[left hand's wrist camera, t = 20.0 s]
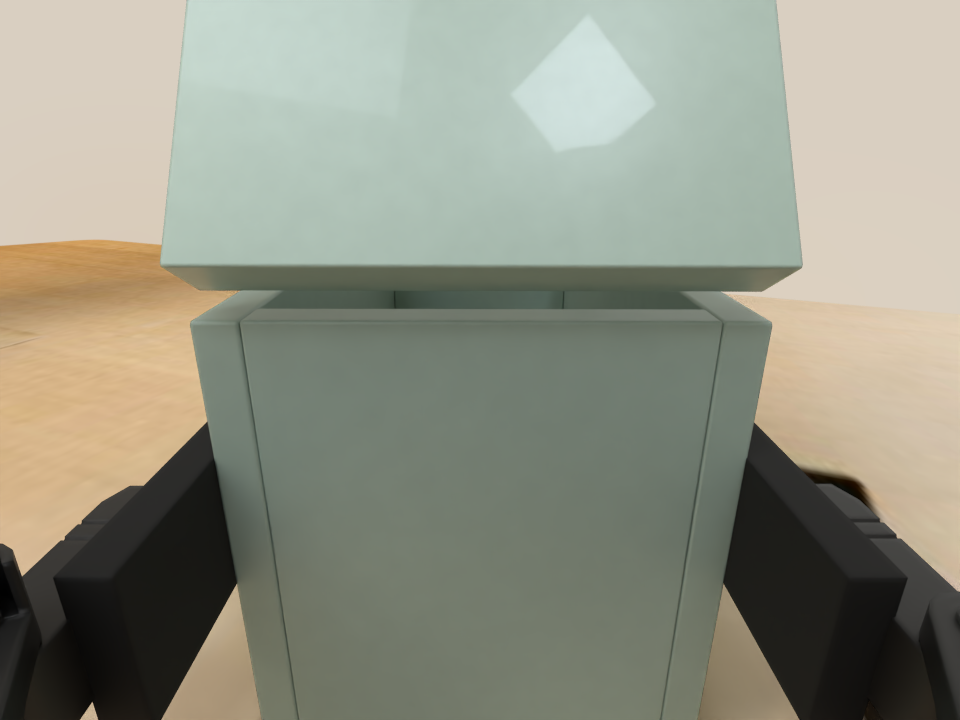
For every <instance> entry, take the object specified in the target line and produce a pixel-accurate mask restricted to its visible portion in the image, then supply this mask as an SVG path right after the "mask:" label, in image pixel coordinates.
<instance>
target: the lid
mask: <svg viewBox="0 0 960 720" xmlns="http://www.w3.org/2000/svg"><path fill="white" fill-rule="evenodd" d="M160 265H161V267H162V268H164V269H166V270H167V271H169V272H170V273H172V274H174V275H175V276H177V277H179V278H180V279H182V280H183V281H185V282H187V283H188V284H190V285H192V286H193V287H195V288H197V289H198V290H258V291H746V292H747V291H748V292H751V291H752V292H762V291H764V290H766V289H767V288H769V287H771V286H772V285H774V284H776V283H778V282H779V281H781V280H783V279H784V278H786V277H788V276H789V275H791V274H793V273H794V272H796V271H798V270H799V269H801V268H802V265H803V263H802V253H801V243H800V233H799V223H798V213H797V203H796V193H795V183H794V174H793V164H792V153H791V144H790V134H789V124H788V114H787V104H786V94H785V84H784V74H783V64H782V54H781V45H780V34H779V24H778V14H777V4H776V0H187V3H186V12H185V23H184V32H183V42H182V52H181V62H180V72H179V81H178V91H177V101H176V111H175V121H174V131H173V140H172V150H171V160H170V170H169V180H168V190H167V199H166V209H165V220H164V229H163V239H162V249H161V258H160Z"/></svg>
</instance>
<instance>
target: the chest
mask: <svg viewBox="0 0 960 720" xmlns="http://www.w3.org/2000/svg"><path fill="white" fill-rule="evenodd" d="M190 327H191V333H192V338H193V344H194V349H195V355H196V360H197V366H198V371H199V377H200V382H201V388H202V393H203V399H204V404H205V410H206V415H207V421H208V426H209V432H210V438H211V443H212V449H213V454H214V460H215V465H216V471H217V476H218V482H219V487H220V493H221V498H222V504H223V509H224V515H225V520H226V526H227V531H228V537H229V542H230V548H231V553H232V559H233V564H234V570H235V575H236V581H237V586H238V592H239V597H240V603H241V608H242V614H243V619H244V625H245V630H246V636H247V641H248V647H249V652H250V658H251V663H252V669H253V674H254V680H255V685H256V691H257V696H258V702H259V707H260V713H261V718H262V720H698V715H699V710H700V705H701V699H702V694H703V689H704V683H705V678H706V673H707V668H708V662H709V657H710V652H711V646H712V641H713V636H714V631H715V625H716V620H717V615H718V609H719V604H720V599H721V594H722V588H723V581H724V576H725V570H726V565H727V560H728V554H729V549H730V543H731V538H732V533H733V527H734V522H735V517H736V511H737V506H738V500H739V495H740V490H741V484H742V479H743V474H744V468H745V463H746V458H747V456H748V451H749V446H750V440H751V435H752V430H753V425H754V419H755V414H756V409H757V404H758V398H759V393H760V388H761V382H762V377H763V372H764V367H765V361H766V356H767V351H768V345H769V340H770V335H771V330H772V323H771V322H770V321H769V320H767V319H765V318H764V317H762V316H760V315H759V314H757V313H755V312H754V311H752V310H750V309H749V308H747V307H745V306H744V305H742V304H740V303H739V302H737V301H735V300H734V299H732V298H730V297H729V296H727V295H725V294H724V293H722V292H720V291H258V290H241V291H239V292H238V293H236V294H235V295H233V296H231V297H230V298H228V299H226V300H225V301H223V302H221V303H220V304H218V305H217V306H215V307H213V308H212V309H210V310H208V311H207V312H205V313H204V314H202V315H200V316H199V317H197V318H195V319H194V320H192V321H191V323H190Z"/></svg>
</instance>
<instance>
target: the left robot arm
mask: <svg viewBox="0 0 960 720" xmlns="http://www.w3.org/2000/svg"><path fill="white" fill-rule="evenodd" d="M723 583H724V585H725V587H726V588H727V590H728V592H729V594H730V596H731V597H732V599H733V601H734V603H735V605H736V606H737V608H738V610H739V612H740V613H741V615H742V617H743V619H744V621H745V622H746V624H747V626H748V628H749V630H750V631H751V633H752V635H753V637H754V639H755V640H756V642H757V644H758V646H759V648H760V649H761V651H762V653H763V655H764V657H765V658H766V660H767V662H768V664H769V666H770V667H771V669H772V671H773V673H774V675H775V676H776V678H777V680H778V682H779V684H780V685H781V687H782V689H783V691H784V693H785V694H786V696H787V698H788V700H789V702H790V703H791V705H792V707H793V709H794V710H795V712H796V714H797V716H798V718H799V719H800V720H862V719H863V716H864V713H865V710H866V707H867V704H868V701H869V700H870V702H871V703H872V704H873V706H874V707H875V709H876V710H877V712H878V713H879V714H880V716H881V717H882V719H883V720H960V592H958V591H956V590H955V589H954V588H953V587H952V586H951V585H950V584H949V583H948V582H947V581H946V580H945V579H944V578H943V577H941V576H940V575H939V574H938V573H937V572H936V571H935V570H934V569H933V568H932V567H931V566H930V565H929V564H928V563H926V562H925V561H924V560H923V559H922V558H921V557H920V556H919V555H918V554H917V553H916V552H915V551H914V550H913V549H911V548H910V547H909V546H908V545H907V544H906V543H905V542H904V541H903V540H902V539H897V537H896V534H895V533H894V532H893V531H892V530H891V529H890V528H889V527H888V526H887V525H886V524H885V523H880V519H879V518H878V517H877V516H876V515H875V514H874V513H873V512H872V511H871V510H870V509H869V508H867V507H866V506H865V505H864V504H863V503H862V502H861V501H860V500H858V499H857V498H855V497H853V496H851V495H850V494H848V493H846V492H844V491H843V490H841V489H839V488H837V487H836V486H834V485H832V484H815V483H814V482H813V481H812V480H811V479H810V478H809V477H808V476H807V475H806V474H805V473H804V472H803V471H802V470H801V469H800V468H799V467H798V466H797V465H796V464H795V463H794V462H793V461H792V460H791V459H790V458H789V457H788V456H787V455H786V454H785V453H784V452H783V451H782V450H781V449H780V448H779V447H778V446H777V445H776V444H775V443H774V442H773V441H772V440H771V439H770V438H769V437H768V436H767V435H766V434H765V433H764V432H763V431H762V430H761V429H760V428H759V427H758V426H757V425H756V424H755V423H754V425H753V430H752V435H751V440H750V446H749V451H748V456H747V458H746V463H745V468H744V474H743V479H742V484H741V490H740V495H739V500H738V506H737V511H736V517H735V522H734V527H733V533H732V538H731V543H730V549H729V554H728V560H727V565H726V570H725V576H724V581H723ZM236 584H237V581H236V575H235V570H234V564H233V559H232V553H231V548H230V542H229V537H228V531H227V526H226V520H225V515H224V509H223V504H222V498H221V493H220V487H219V482H218V476H217V471H216V465H215V460H214V454H213V449H212V443H211V438H210V432H209V426H208V422H207V423H206V424H205V425H204V426H203V427H202V428H201V429H200V430H199V431H198V432H197V433H196V434H195V435H194V436H193V437H192V438H191V439H190V440H189V441H188V442H187V443H186V444H185V445H184V446H183V447H182V448H181V449H180V450H179V451H178V452H177V453H176V454H175V455H174V456H173V457H172V458H171V459H170V460H169V461H168V462H167V463H166V464H165V465H164V466H163V467H162V468H161V469H160V470H159V471H158V472H157V473H156V474H155V475H154V476H153V477H152V478H151V479H150V480H149V481H148V482H147V483H146V484H145V485H144V486H129V487H127V488H125V489H124V490H122V491H120V492H118V493H117V494H115V495H113V496H111V497H110V498H108V499H106V500H104V501H103V502H101V503H100V504H99V505H98V506H97V507H96V508H95V509H94V510H93V511H92V512H91V513H90V514H88V515H87V516H86V517H85V518H84V519H83V520H82V524H78V525H77V526H76V527H75V528H74V529H72V530H71V531H70V532H69V533H68V534H67V535H66V536H65V540H64V541H60V542H59V543H58V544H57V545H55V546H54V547H53V548H52V549H51V550H50V551H49V552H48V553H47V554H46V555H45V556H44V557H43V558H42V559H41V560H39V561H38V562H37V563H36V564H35V565H34V566H33V567H32V568H31V569H30V570H29V571H28V572H27V573H26V574H25V575H24V576H21V573H20V570H19V567H18V564H17V561H16V558H15V555H14V552H13V550H12V549H10V548H9V547H7V546H5V545H4V544H0V720H80V719H81V717H82V716H83V714H84V713H85V711H86V710H87V709H88V707H89V706H90V704H91V703H92V701H93V704H94V708H95V711H96V714H97V717H98V720H161V719H162V717H163V715H164V713H165V712H166V710H167V708H168V706H169V704H170V703H171V701H172V699H173V697H174V695H175V694H176V692H177V690H178V688H179V686H180V685H181V683H182V681H183V679H184V678H185V676H186V674H187V672H188V670H189V669H190V667H191V665H192V663H193V661H194V660H195V658H196V656H197V654H198V652H199V651H200V649H201V647H202V645H203V643H204V642H205V640H206V638H207V636H208V634H209V633H210V631H211V629H212V627H213V625H214V624H215V622H216V620H217V618H218V616H219V615H220V613H221V611H222V609H223V607H224V606H225V604H226V602H227V600H228V598H229V597H230V595H231V593H232V591H233V589H234V588H235V586H236Z"/></svg>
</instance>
